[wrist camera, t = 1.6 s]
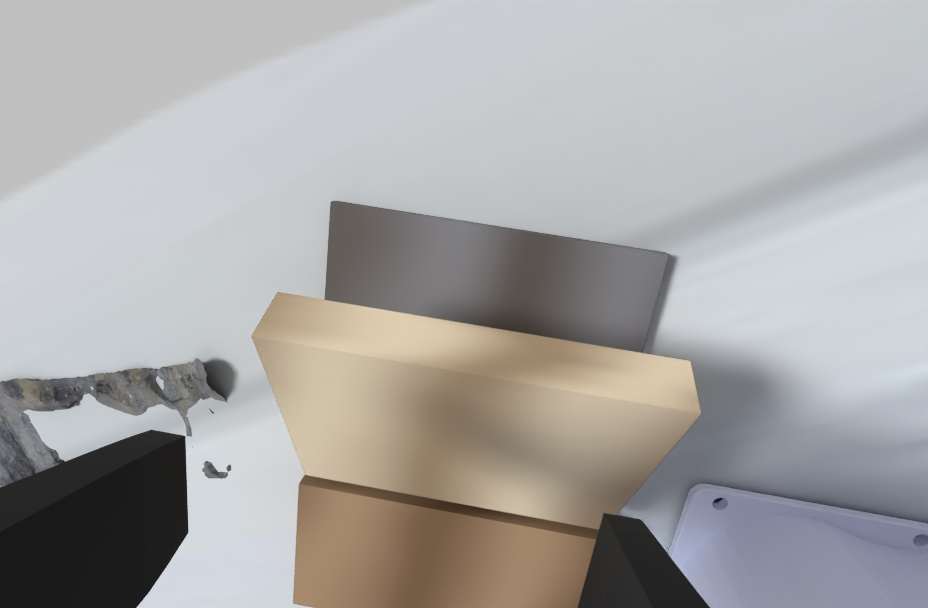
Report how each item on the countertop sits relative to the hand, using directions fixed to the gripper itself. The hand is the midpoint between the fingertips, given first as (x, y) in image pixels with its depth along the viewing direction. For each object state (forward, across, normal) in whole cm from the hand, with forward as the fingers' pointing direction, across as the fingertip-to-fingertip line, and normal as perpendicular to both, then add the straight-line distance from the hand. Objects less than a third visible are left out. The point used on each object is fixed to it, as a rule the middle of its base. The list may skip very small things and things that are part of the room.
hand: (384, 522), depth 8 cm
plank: (+7, -1, +1) cm, 7 cm away
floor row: (+9, -1, +4) cm, 10 cm away
